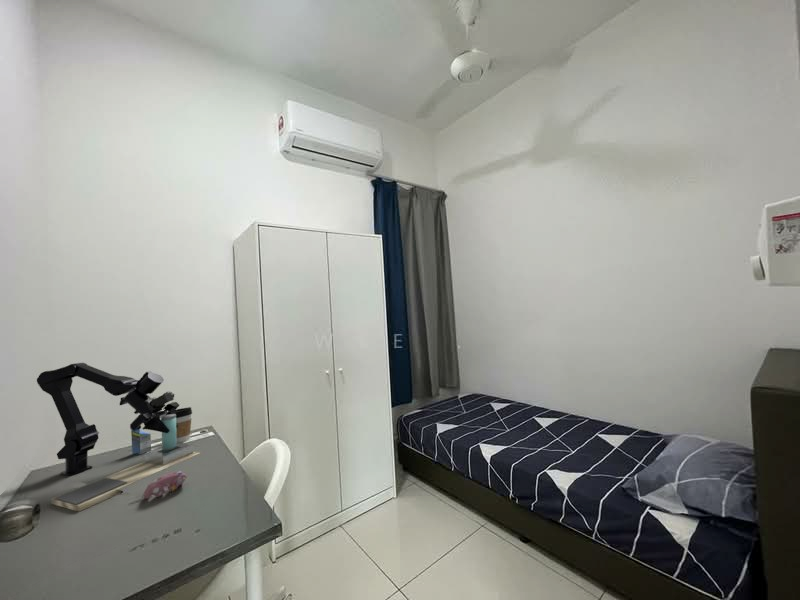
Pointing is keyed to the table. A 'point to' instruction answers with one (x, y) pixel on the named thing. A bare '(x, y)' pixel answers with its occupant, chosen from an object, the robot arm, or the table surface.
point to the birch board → (124, 475)
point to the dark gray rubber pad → (90, 491)
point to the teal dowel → (170, 437)
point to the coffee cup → (183, 424)
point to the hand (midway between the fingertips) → (172, 429)
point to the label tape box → (140, 442)
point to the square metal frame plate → (168, 454)
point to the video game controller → (165, 484)
